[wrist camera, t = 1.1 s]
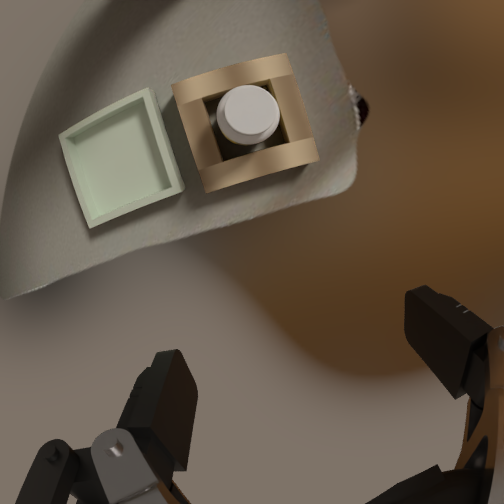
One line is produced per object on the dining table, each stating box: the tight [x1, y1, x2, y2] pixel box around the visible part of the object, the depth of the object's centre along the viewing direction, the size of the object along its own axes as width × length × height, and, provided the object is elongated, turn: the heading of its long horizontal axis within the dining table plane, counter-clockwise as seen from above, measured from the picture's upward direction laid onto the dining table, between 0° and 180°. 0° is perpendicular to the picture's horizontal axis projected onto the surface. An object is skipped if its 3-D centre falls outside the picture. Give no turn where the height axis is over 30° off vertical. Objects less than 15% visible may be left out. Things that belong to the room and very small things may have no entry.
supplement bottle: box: [217, 85, 280, 146], centre depth 24 cm, size 5×5×10 cm
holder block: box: [171, 53, 320, 193], centre depth 27 cm, size 12×12×3 cm
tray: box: [59, 87, 186, 229], centre depth 27 cm, size 12×12×2 cm
